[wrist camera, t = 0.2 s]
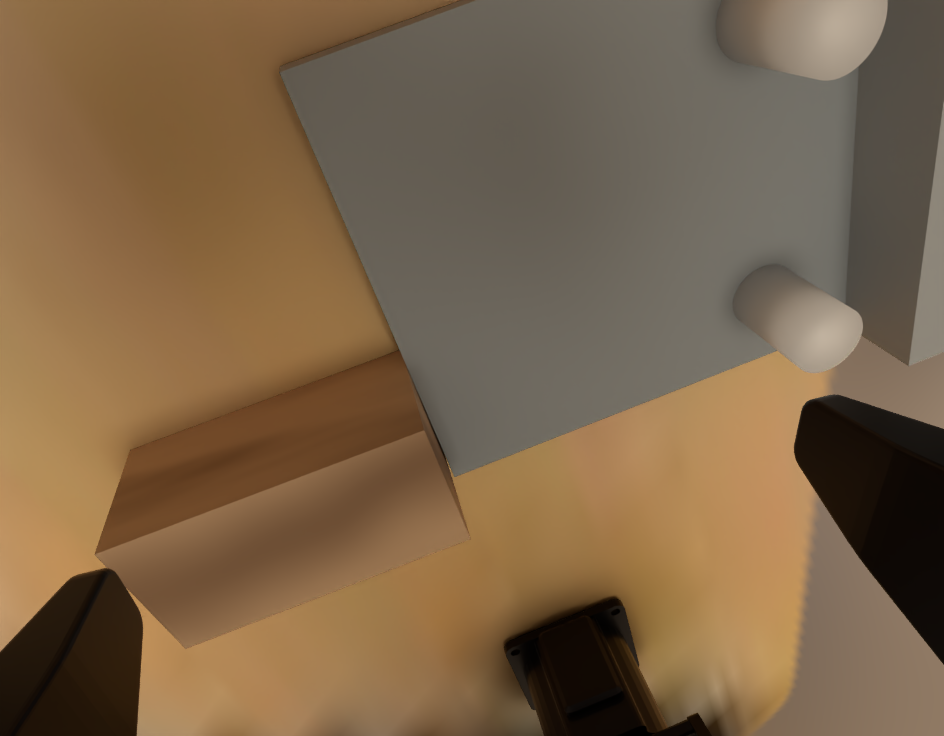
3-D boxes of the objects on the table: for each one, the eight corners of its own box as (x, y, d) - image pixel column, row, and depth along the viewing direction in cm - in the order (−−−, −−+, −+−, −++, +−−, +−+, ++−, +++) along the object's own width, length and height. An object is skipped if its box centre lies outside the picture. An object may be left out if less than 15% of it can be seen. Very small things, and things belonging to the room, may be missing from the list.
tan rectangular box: (442, 447, 26) (470, 538, 21) (203, 537, 25) (185, 648, 21) (401, 346, 23) (424, 430, 19) (131, 446, 22) (94, 554, 18)
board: (859, 296, 26) (957, 353, 22) (448, 457, 26) (475, 544, 22) (891, -158, 18) (1057, -193, 14) (279, 66, 17) (276, 95, 13)
